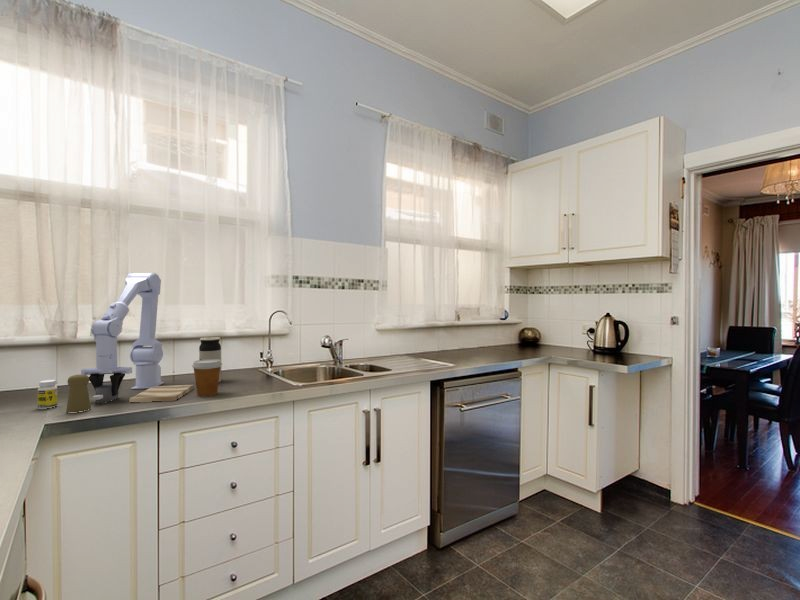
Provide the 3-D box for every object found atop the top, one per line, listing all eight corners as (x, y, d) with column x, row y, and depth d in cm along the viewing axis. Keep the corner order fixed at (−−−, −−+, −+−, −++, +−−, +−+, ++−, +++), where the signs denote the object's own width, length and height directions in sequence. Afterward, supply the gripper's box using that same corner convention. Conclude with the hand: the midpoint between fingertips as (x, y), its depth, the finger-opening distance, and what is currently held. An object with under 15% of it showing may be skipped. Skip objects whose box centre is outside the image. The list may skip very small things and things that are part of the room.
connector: (108, 397, 139) (107, 383, 139) (120, 396, 140) (120, 382, 140) (88, 406, 128) (88, 390, 128) (102, 405, 129) (102, 390, 129)
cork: (88, 407, 127) (87, 372, 127) (93, 410, 123) (93, 374, 123) (63, 411, 122) (63, 375, 122) (68, 414, 119) (68, 377, 119)
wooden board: (153, 390, 149) (153, 386, 149) (193, 388, 152) (193, 384, 152) (129, 402, 132) (129, 398, 132) (175, 400, 134) (175, 396, 134)
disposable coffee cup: (218, 397, 139) (218, 362, 139) (188, 398, 137) (188, 363, 137) (224, 391, 148) (224, 358, 148) (196, 392, 146) (196, 359, 146)
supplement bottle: (34, 410, 124) (34, 383, 123) (41, 406, 128) (40, 380, 128) (54, 408, 125) (54, 381, 125) (60, 404, 130) (59, 378, 130)
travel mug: (222, 379, 168) (221, 336, 168) (220, 383, 161) (219, 338, 160) (201, 381, 166) (200, 337, 166) (198, 385, 158) (197, 339, 158)
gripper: (75, 357, 130) (75, 399, 130) (124, 356, 132) (125, 397, 132) (88, 354, 137) (88, 394, 137) (134, 353, 139) (135, 392, 139)
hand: (107, 395), depth 135 cm, fingers closed on connector, 4 cm apart
